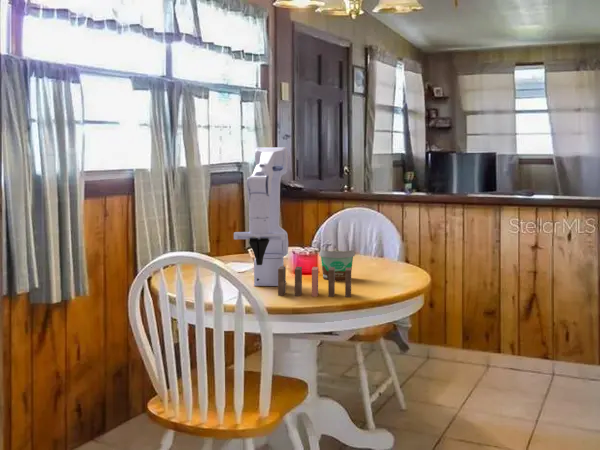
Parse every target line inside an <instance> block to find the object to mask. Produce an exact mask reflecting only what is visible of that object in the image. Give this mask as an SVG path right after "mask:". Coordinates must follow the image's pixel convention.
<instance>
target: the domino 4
mask: <svg viewBox="0 0 600 450" xmlns="http://www.w3.org/2000/svg"><path fill="white" fill-rule="evenodd" d="M327 281H328V288H327V289H328V293H327V294H328V296H327V297H329V298H334V297H335V288H336V286H335V283H336V281H335V267H329V270H328V280H327Z"/></svg>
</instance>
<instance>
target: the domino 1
mask: <svg viewBox="0 0 600 450" xmlns="http://www.w3.org/2000/svg"><path fill="white" fill-rule="evenodd" d="M286 283H287V280H286V266H280V267H279V269H278V286H277V296H282V297H283V296H285V294H286V292H287V291H286V289H287V288H286V286H287V285H286Z"/></svg>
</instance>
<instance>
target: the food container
mask: <svg viewBox="0 0 600 450" xmlns="http://www.w3.org/2000/svg"><path fill="white" fill-rule="evenodd" d="M318 254H319V257H320V258H321V270H322V271H321V272H322V279H323V280H325V281H328V270H329V267H335V282H345V270H346V268H351V272H352V270H353V269H352V267H353V261H354V260H353V259H354V257H355V256H356V254H355V250H354V248H352V249H351V250H344V251H343V250H332V251H331V250H324V249H323V250H322V249H320V251H319V253H318Z"/></svg>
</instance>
